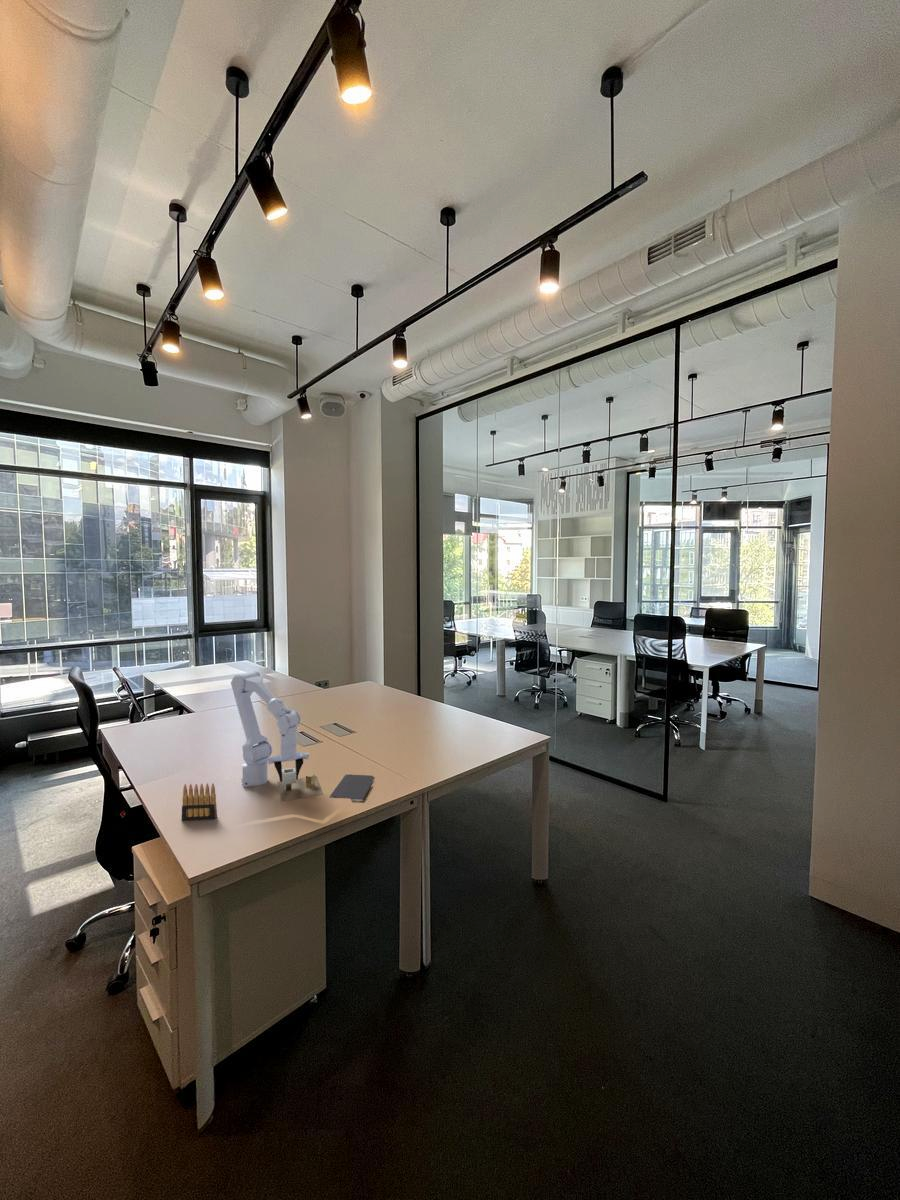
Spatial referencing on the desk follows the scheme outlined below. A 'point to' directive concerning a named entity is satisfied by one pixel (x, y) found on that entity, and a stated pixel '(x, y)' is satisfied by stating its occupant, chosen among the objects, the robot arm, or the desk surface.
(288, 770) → the steel collar
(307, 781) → the pale yellow square peg
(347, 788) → the notebook
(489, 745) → the desk surface
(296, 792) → the tan board
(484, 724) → the desk surface
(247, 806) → the desk surface
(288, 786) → the grey metal cylinder
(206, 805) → the ammunition clip
